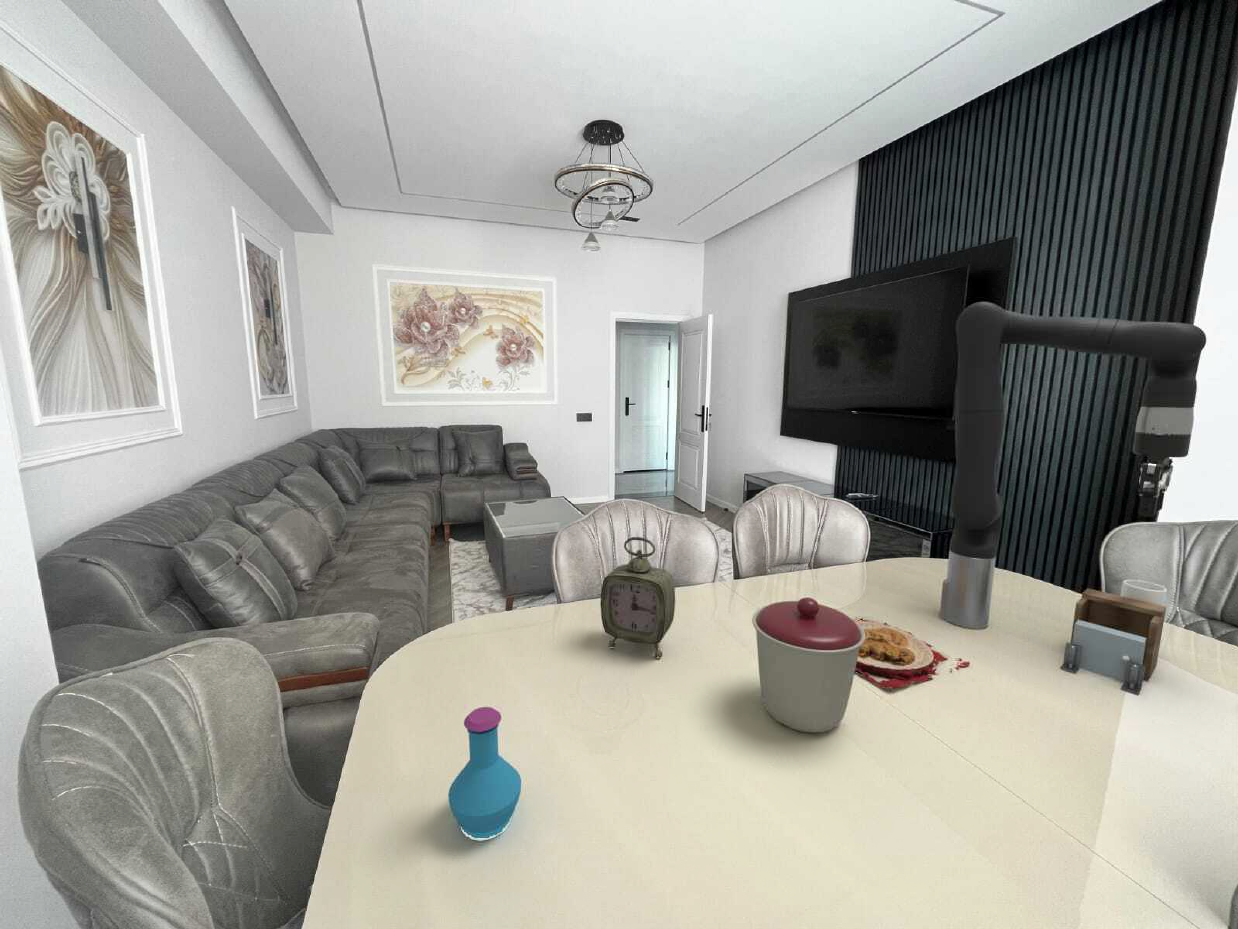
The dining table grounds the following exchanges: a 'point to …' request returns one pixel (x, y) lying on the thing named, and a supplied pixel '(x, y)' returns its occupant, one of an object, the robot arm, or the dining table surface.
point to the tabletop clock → (638, 601)
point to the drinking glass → (1144, 591)
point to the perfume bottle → (484, 780)
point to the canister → (806, 662)
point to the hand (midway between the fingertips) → (1149, 512)
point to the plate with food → (896, 656)
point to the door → (1107, 649)
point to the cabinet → (1125, 620)
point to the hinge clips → (1132, 672)
